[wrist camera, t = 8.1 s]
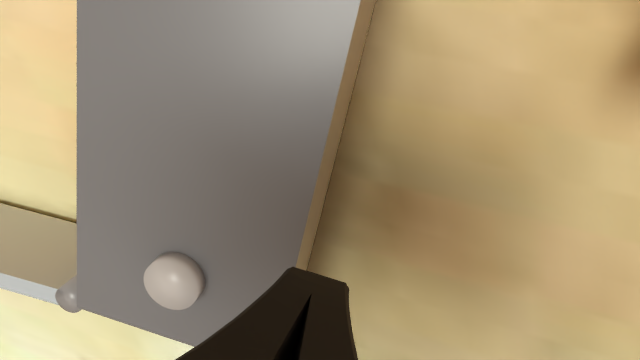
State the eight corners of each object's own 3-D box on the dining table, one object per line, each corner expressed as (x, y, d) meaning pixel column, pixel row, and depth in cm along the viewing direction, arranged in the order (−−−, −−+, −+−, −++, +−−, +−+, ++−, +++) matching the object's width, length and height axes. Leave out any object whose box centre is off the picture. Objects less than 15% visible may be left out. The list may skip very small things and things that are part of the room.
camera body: (301, 292, 22) (265, 384, 17) (141, 242, 22) (61, 315, 17) (391, -60, 15) (378, -87, 10) (167, -113, 16) (52, -162, 11)
